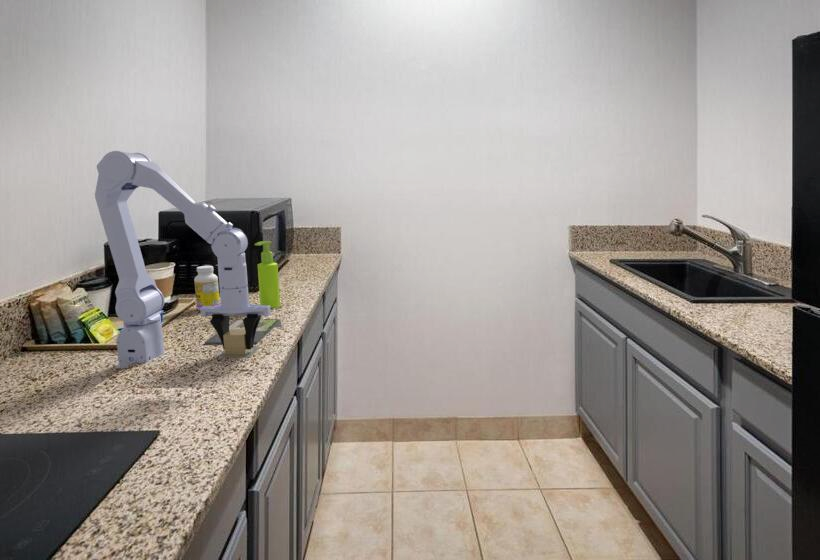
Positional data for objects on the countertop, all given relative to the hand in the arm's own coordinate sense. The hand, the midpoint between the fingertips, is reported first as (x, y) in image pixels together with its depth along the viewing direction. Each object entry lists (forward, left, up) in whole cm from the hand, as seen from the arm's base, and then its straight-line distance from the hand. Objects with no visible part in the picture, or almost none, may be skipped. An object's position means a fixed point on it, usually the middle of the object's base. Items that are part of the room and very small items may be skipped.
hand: (238, 348), depth 119 cm
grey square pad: (0, 0, -2) cm, 2 cm away
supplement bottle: (+47, +26, -3) cm, 54 cm away
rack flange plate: (+16, +4, -2) cm, 17 cm away
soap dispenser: (+49, +8, -3) cm, 50 cm away
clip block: (0, 0, -1) cm, 1 cm away
